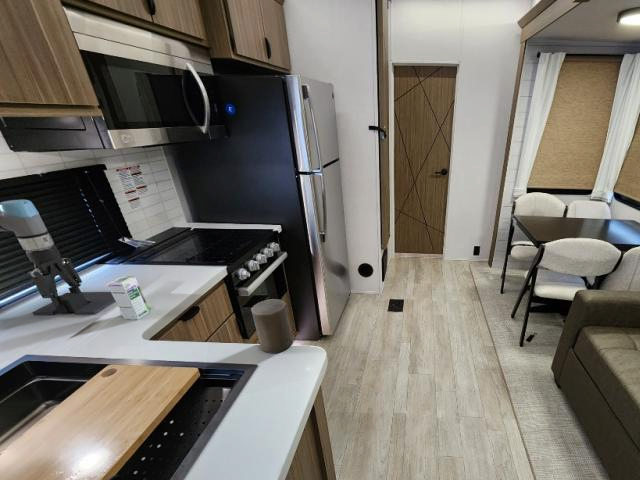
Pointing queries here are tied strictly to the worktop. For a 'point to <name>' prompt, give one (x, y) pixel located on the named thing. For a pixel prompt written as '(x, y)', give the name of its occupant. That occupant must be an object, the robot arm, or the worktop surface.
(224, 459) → the worktop surface
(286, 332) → the pillar candle
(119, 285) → the syrup box
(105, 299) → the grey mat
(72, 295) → the black pad
